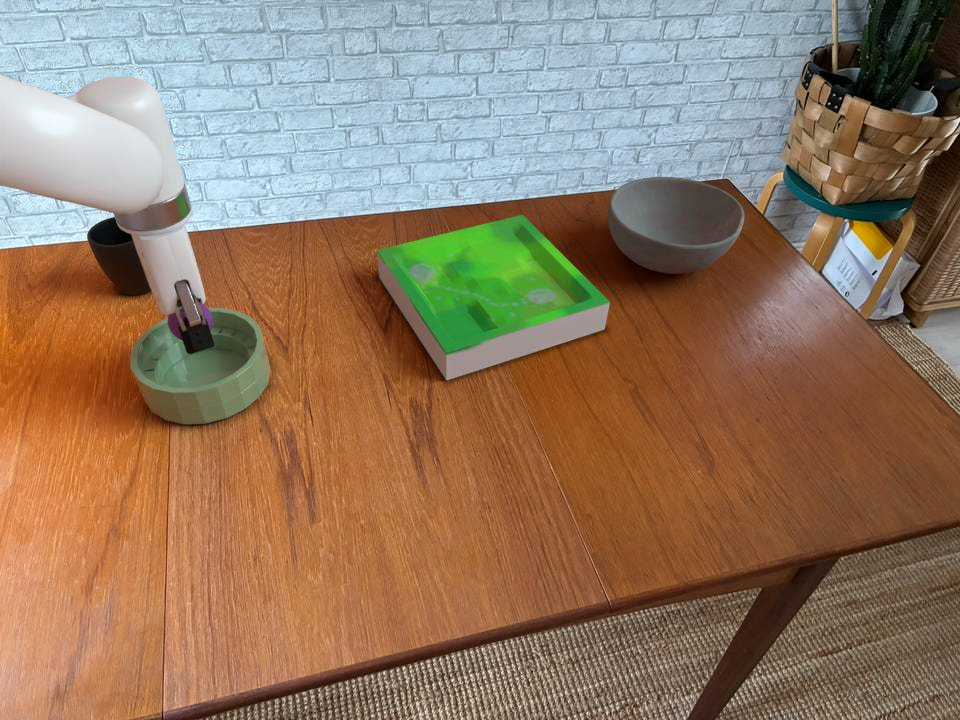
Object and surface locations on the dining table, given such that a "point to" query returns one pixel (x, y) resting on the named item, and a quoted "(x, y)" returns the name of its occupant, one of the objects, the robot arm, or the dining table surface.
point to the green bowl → (202, 370)
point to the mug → (118, 257)
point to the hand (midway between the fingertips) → (194, 334)
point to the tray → (489, 294)
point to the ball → (174, 322)
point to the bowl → (673, 223)
